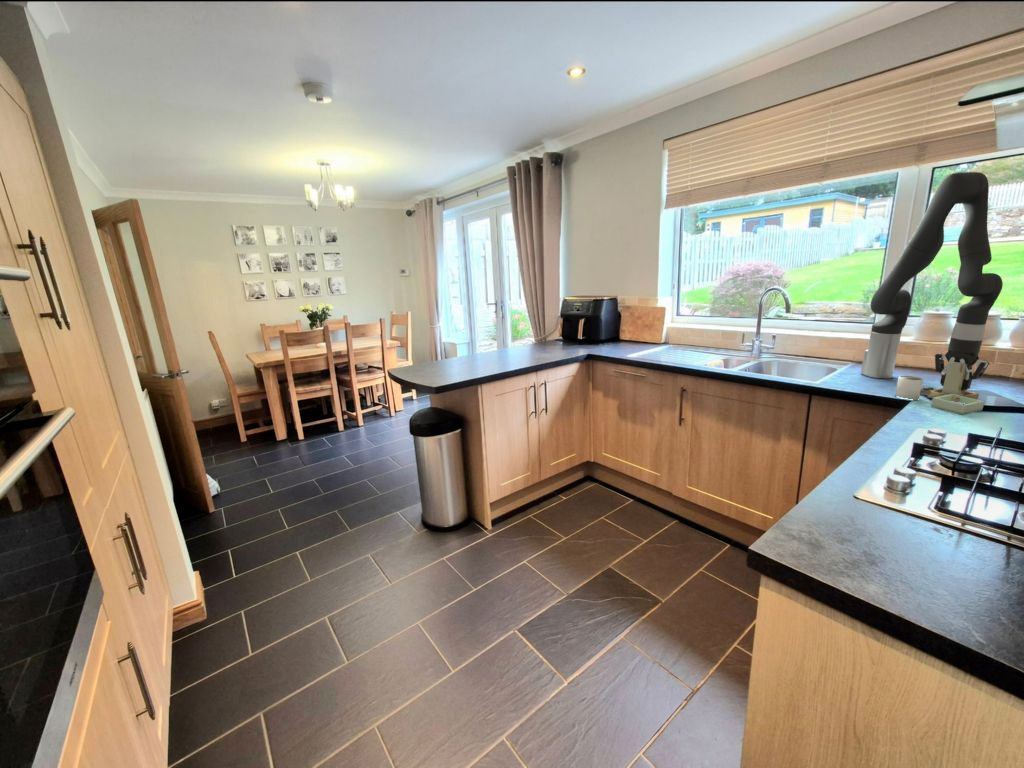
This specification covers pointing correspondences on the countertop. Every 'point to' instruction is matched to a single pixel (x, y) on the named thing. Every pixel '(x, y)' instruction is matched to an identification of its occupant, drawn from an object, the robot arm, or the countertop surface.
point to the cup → (909, 387)
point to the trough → (961, 409)
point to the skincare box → (954, 379)
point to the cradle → (938, 392)
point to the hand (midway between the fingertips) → (953, 387)
